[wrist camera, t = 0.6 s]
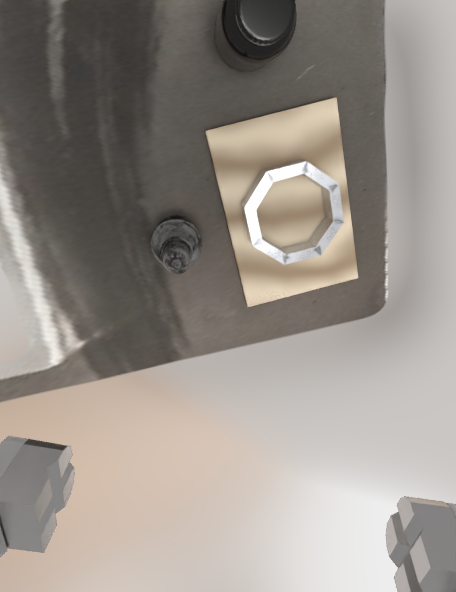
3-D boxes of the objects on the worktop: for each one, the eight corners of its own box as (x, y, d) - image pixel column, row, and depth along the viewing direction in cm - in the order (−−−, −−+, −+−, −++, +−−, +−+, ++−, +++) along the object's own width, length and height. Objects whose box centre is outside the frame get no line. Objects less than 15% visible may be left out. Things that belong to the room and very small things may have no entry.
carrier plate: (205, 131, 47) (206, 130, 46) (331, 98, 48) (336, 97, 46) (246, 302, 56) (248, 307, 54) (353, 274, 56) (358, 277, 55)
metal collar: (234, 176, 48) (238, 178, 45) (326, 152, 48) (335, 153, 45) (254, 264, 52) (258, 271, 49) (338, 242, 52) (347, 248, 50)
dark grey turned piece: (194, 208, 50) (199, 230, 39) (204, 254, 53) (212, 287, 41) (146, 218, 50) (138, 243, 39) (159, 264, 52) (154, 299, 41)
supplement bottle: (211, -1, 43) (223, -47, 32) (276, -2, 43) (311, -48, 32) (214, 74, 45) (227, 55, 34) (276, 72, 46) (308, 53, 35)
